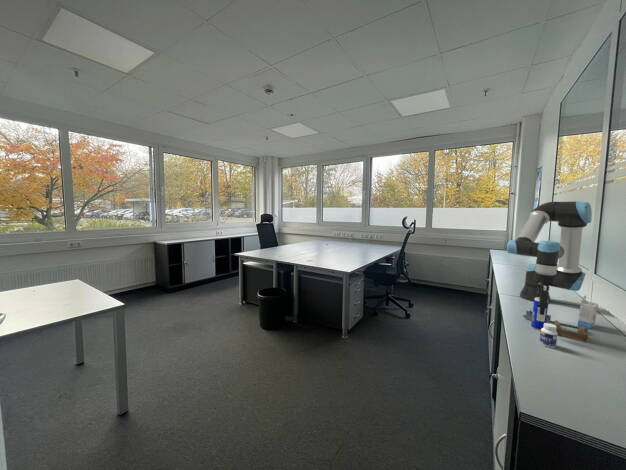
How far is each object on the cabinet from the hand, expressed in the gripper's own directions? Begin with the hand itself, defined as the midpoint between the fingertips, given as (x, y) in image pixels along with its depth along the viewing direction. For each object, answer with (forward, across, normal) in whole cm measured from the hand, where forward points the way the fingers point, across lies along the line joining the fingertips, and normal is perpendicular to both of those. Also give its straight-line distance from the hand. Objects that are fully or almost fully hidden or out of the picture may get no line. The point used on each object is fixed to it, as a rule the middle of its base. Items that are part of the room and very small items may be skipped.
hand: (539, 316), depth 124 cm
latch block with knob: (+6, -11, +1) cm, 13 cm away
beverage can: (+6, 0, 0) cm, 6 cm away
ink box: (+6, -22, +20) cm, 30 cm away
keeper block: (+6, -5, +7) cm, 11 cm away
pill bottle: (+7, +18, +2) cm, 19 cm away
